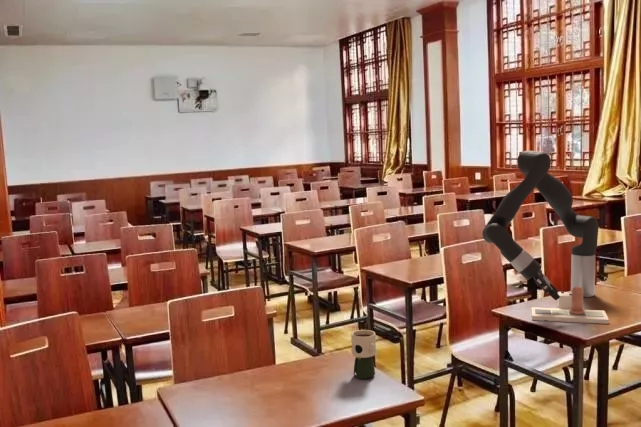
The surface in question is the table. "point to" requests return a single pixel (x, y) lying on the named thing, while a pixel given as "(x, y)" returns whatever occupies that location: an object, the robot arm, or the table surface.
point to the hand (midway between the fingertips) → (557, 295)
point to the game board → (569, 315)
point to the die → (565, 300)
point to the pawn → (577, 301)
